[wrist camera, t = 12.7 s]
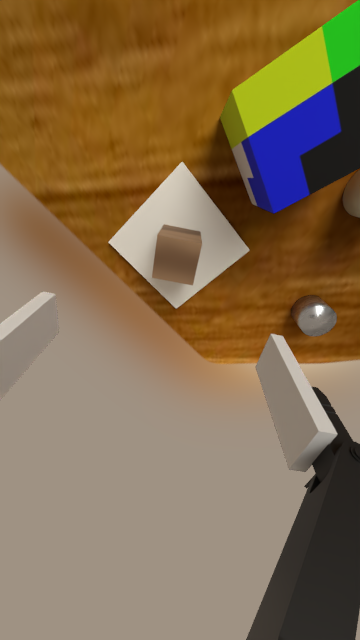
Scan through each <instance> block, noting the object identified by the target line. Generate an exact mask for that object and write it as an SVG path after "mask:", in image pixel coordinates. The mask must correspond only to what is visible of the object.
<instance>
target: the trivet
mask: <svg viewBox="0 0 360 640" xmlns="http://www.w3.org/2000/svg"><path fill="white" fill-rule="evenodd" d="M164 224H165V225H170V226H175V227H180V228H185V229H190V230H195V231H200V232H201V239H202V247H201V251H200V256H199V260H198V265H197V269H196V274H195V278H194V283H193V285H188V284H182V283H177V282H172V281H166V280H161V279H156V278H152V272H153V265H154V257H155V249H156V241H157V235H158V233H159V231H160V230H161V228H162V226H163V225H164ZM108 243H109V244H111V245H112V246H113V247H114V248H115V249H116V250H117V251H118V252H119V253H120V254H121V255H122V256H123V257H124V258H125V259H126V260H127V261H128V262H129V263H130V264H131V265H132V266H133V267H134V268H135V269H136V270H137V271H138V272H139V273H140V274H141V275H142V276H143V277H144V278H145V279H146V280H147V281H148V282H149V283H150V284H151V285H152V286H153V287H154V288H155V289H156V290H157V291H158V292H159V293H160V294H161V295H163V296H164V297H165V298H166V299H167V300H168V301H169V302H170V303H171V304H172V305H173V306H174V307H175V308H176V309H177V308H178V307H179V306H180V305H182V304H183V303H184V302H185V301H187V300H188V299H189V298H190V297H192V296H193V295H194V294H195V293H197V292H198V291H199V290H200V289H202V288H203V287H204V286H206V285H207V284H208V283H209V282H211V281H212V280H213V279H214V278H216V277H217V276H218V275H219V274H221V273H222V272H223V271H224V270H226V269H227V268H228V267H229V266H231V265H232V264H233V263H234V262H236V261H237V260H238V259H239V258H241V257H242V256H243V255H244V254H246V253H247V252H248V251H250V250H249V248H248V247H247V246H246V244H245V243H244V242H243V241H242V239H241V238H240V237H239V235H238V234H237V233H236V231H235V230H234V229H233V227H232V226H231V225H230V223H229V222H228V221H227V220H226V218H225V217H224V216H223V214H222V213H221V212H220V210H219V209H218V208H217V206H216V205H215V204H214V203H213V201H212V200H211V199H210V197H209V196H208V195H207V193H206V192H205V191H204V189H203V188H202V187H201V186H200V184H199V183H198V182H197V180H196V179H195V178H194V176H193V175H192V174H191V172H190V171H189V170H188V169H187V167H186V166H185V165H184V163H183V162H181V163H180V164H179V166H178V167H177V168H176V169H175V170H174V171H173V172H172V173H171V174H170V175H169V176H168V178H167V179H166V180H165V181H164V182H163V183H162V184H161V185H160V186H159V187H158V188H157V190H156V191H155V192H154V193H153V194H152V195H151V196H150V197H149V198H148V199H147V200H146V202H145V203H144V204H143V205H142V206H141V207H140V208H139V209H138V210H137V211H136V212H135V214H134V215H133V216H132V217H131V218H130V219H129V220H128V221H127V222H126V223H125V224H124V226H123V227H122V228H121V229H120V230H119V231H118V232H117V233H116V234H115V235H114V236H113V238H112V239H111V240H110V241H109V242H108Z"/></svg>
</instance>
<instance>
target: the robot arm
mask: <svg viewBox="0 0 360 640" xmlns="http://www.w3.org/2000/svg"><path fill="white" fill-rule="evenodd" d="M58 333H59V327H58V315H57V304H56V294H53V293H48V292H41V293H40V294H39V295H37V296H36V297H35V298H33V299H32V300H31V301H29V302H28V303H27V304H25V305H24V306H23V307H22V308H20V309H19V310H18V311H16V312H15V313H14V314H12V315H11V316H10V317H8V318H7V319H6V320H4V321H3V322H2V323H1V324H0V400H1V399H2V398H3V396H4V395H5V394H6V393H7V392H8V391H9V389H10V388H11V387H12V386H13V385H14V384H15V382H17V380H18V379H19V378H20V377H21V376H22V375H23V373H24V372H25V371H26V370H27V369H28V368H29V366H30V365H31V364H32V363H33V362H34V361H35V359H36V358H37V357H38V356H39V355H40V354H41V353H42V351H43V350H44V349H45V348H46V347H47V346H48V344H49V343H50V342H51V341H52V340H53V339H54V338H55V336H56V335H57V334H58ZM256 370H257V373H258V376H259V379H260V382H261V385H262V388H263V392H264V395H265V398H266V401H267V404H268V407H269V409H270V413H271V416H272V419H273V422H274V425H275V428H276V431H277V434H278V437H279V440H280V444H281V447H282V449H283V453H284V456H285V459H286V462H287V465H288V468H289V470H296V471H302V472H306V471H307V470H308V468H309V467H310V466H311V465H313V467H314V470H315V472H316V474H315V475H314V476H313V477H312V479H311V480H310V481H309V482H308V483H307V484H306V485H305V487H306V488H308V489H307V492H306V494H305V497H304V499H303V502H302V504H301V507H300V509H299V512H298V514H297V517H296V519H295V521H294V524H293V526H292V529H291V531H290V534H289V536H288V538H287V541H286V543H285V546H284V548H283V551H282V553H281V556H280V558H279V561H278V563H277V565H276V568H275V570H274V573H273V575H272V578H271V580H270V583H269V585H268V588H267V590H266V592H265V595H264V597H263V600H262V602H261V605H260V607H259V610H258V612H257V615H256V617H255V620H254V622H253V624H252V627H251V629H250V632H249V634H248V637H247V639H246V640H355V637H356V630H357V623H358V616H359V609H360V444H358V443H356V442H353V440H352V439H351V437H350V435H349V433H348V432H347V430H346V429H345V427H344V425H343V424H342V422H341V421H340V419H339V417H338V415H337V414H336V412H335V410H334V409H333V407H331V404H330V402H329V400H328V399H327V397H326V396H325V395H324V394H323V393H322V392H321V391H320V390H319V389H318V388H316V387H311V386H310V384H309V382H308V380H307V378H306V377H305V375H304V373H303V371H302V370H301V368H300V366H299V364H298V362H297V361H296V359H295V357H294V355H293V353H292V352H291V350H290V348H289V346H288V345H287V343H286V341H285V339H284V337H283V336H280V335H274V334H270V337H269V339H268V341H267V343H266V345H265V347H264V350H263V352H262V354H261V356H260V358H259V361H258V363H257V365H256Z"/></svg>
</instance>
